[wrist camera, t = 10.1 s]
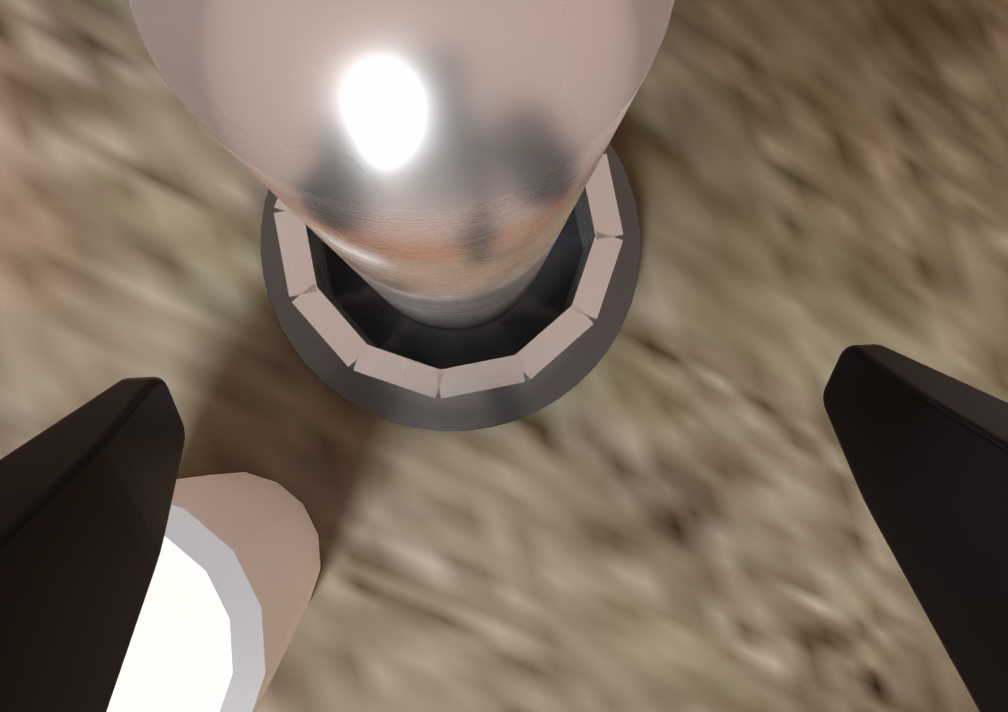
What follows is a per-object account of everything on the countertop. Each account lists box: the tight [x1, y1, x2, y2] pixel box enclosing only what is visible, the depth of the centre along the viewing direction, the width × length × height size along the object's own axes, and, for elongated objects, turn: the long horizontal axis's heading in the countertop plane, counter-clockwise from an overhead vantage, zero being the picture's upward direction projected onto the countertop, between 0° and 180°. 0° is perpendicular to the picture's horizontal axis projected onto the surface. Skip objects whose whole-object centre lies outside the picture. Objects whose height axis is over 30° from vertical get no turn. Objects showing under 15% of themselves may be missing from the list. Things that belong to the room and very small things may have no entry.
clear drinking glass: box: [129, 0, 675, 331], centre depth 13 cm, size 6×6×13 cm
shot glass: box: [107, 472, 321, 712], centre depth 16 cm, size 7×7×7 cm
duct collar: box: [261, 143, 640, 431], centre depth 19 cm, size 12×12×3 cm
